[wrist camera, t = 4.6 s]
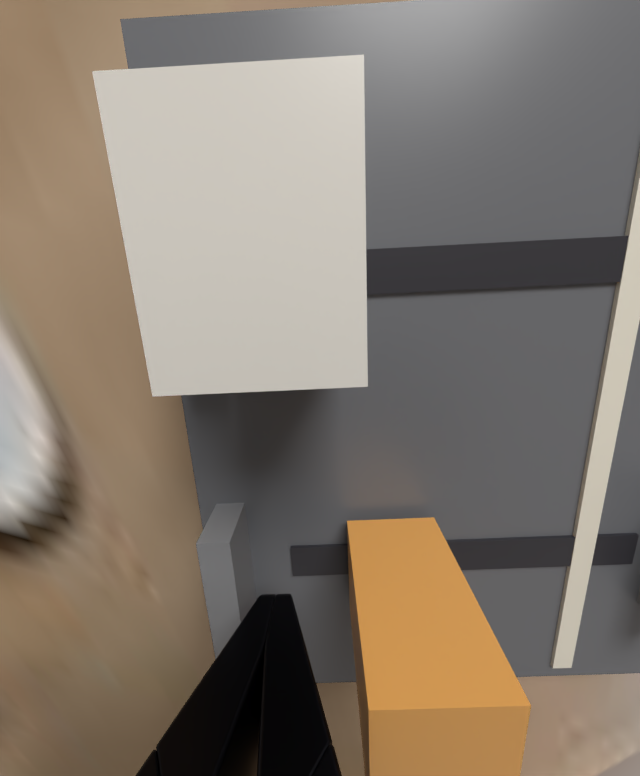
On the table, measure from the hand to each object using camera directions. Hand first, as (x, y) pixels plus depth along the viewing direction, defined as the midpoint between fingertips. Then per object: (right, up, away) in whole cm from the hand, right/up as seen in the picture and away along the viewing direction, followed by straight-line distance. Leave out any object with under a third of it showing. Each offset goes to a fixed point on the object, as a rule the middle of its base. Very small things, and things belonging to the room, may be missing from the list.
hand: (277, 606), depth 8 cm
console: (+5, +5, +2) cm, 7 cm away
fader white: (0, +8, -1) cm, 8 cm away
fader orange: (+3, 0, +1) cm, 3 cm away
